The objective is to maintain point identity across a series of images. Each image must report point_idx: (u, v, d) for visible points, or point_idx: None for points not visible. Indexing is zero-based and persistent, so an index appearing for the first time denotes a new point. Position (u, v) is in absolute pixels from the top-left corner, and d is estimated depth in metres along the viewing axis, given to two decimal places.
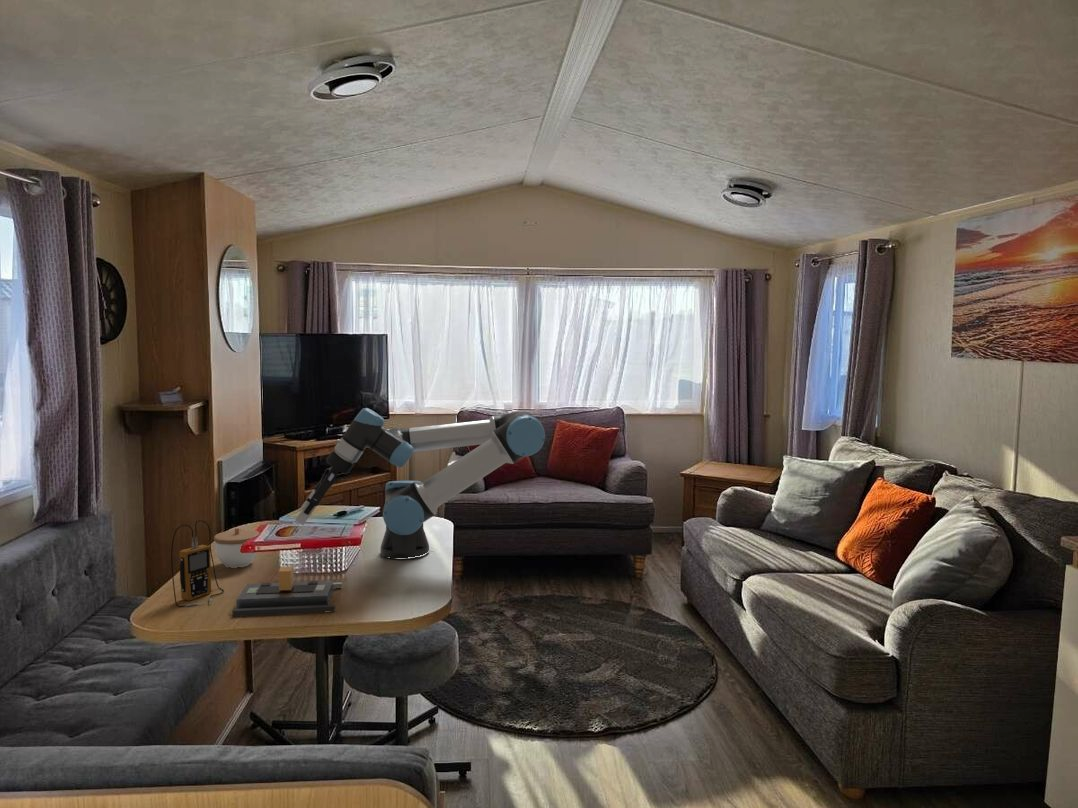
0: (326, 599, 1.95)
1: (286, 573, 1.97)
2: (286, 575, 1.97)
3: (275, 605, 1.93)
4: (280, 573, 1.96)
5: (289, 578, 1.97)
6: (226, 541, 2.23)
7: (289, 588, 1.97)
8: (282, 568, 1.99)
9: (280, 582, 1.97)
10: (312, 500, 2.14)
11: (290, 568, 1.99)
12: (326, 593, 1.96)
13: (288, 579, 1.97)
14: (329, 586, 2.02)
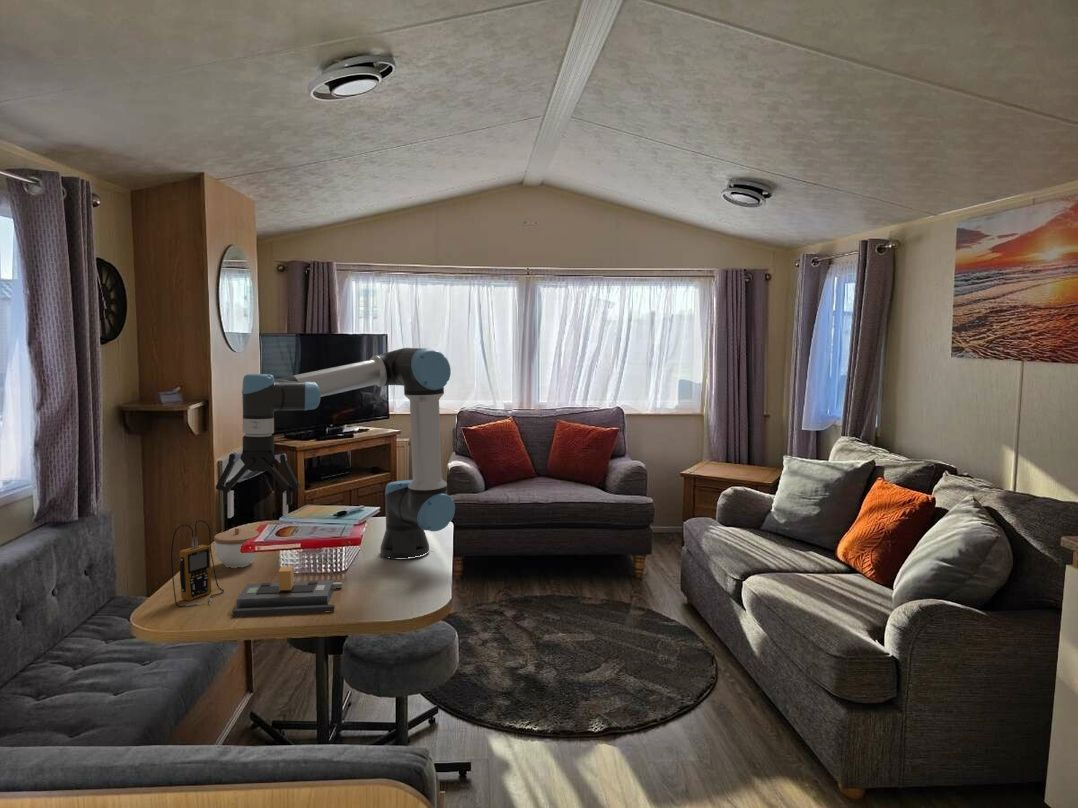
0: (326, 599, 1.95)
1: (286, 573, 1.97)
2: (286, 575, 1.97)
3: (275, 605, 1.93)
4: (280, 573, 1.96)
5: (289, 578, 1.97)
6: (226, 541, 2.23)
7: (289, 588, 1.97)
8: (282, 568, 1.99)
9: (280, 582, 1.97)
10: (298, 486, 1.97)
11: (290, 568, 1.99)
12: (326, 593, 1.96)
13: (288, 579, 1.97)
14: (329, 586, 2.02)
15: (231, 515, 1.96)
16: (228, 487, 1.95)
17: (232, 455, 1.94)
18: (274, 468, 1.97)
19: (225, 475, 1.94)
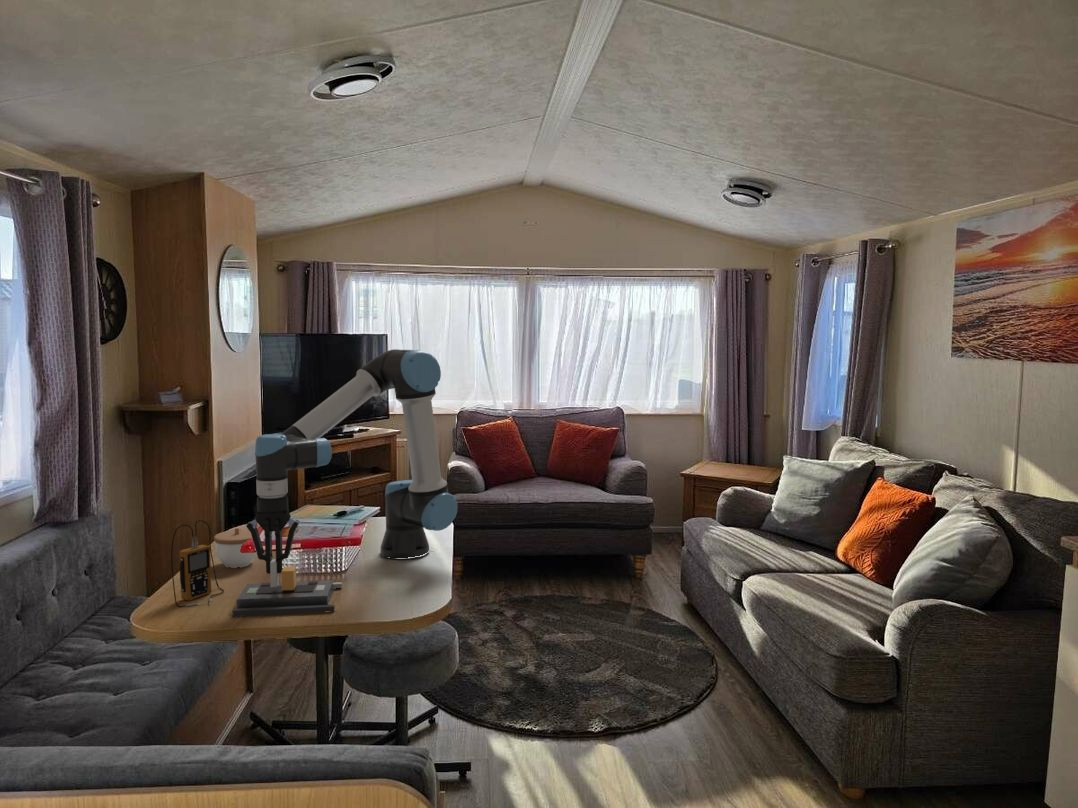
0: (326, 599, 1.95)
1: (289, 573, 1.97)
2: (289, 575, 1.97)
3: (275, 605, 1.93)
4: (283, 573, 1.96)
5: (292, 578, 1.97)
6: (226, 541, 2.23)
7: (292, 588, 1.97)
8: (285, 568, 1.99)
9: (283, 582, 1.97)
10: None
11: (293, 568, 1.99)
12: (326, 593, 1.96)
13: (290, 579, 1.97)
14: (329, 586, 2.02)
15: None
16: (268, 555, 1.96)
17: (248, 524, 1.95)
18: (281, 532, 1.98)
19: (257, 544, 1.96)
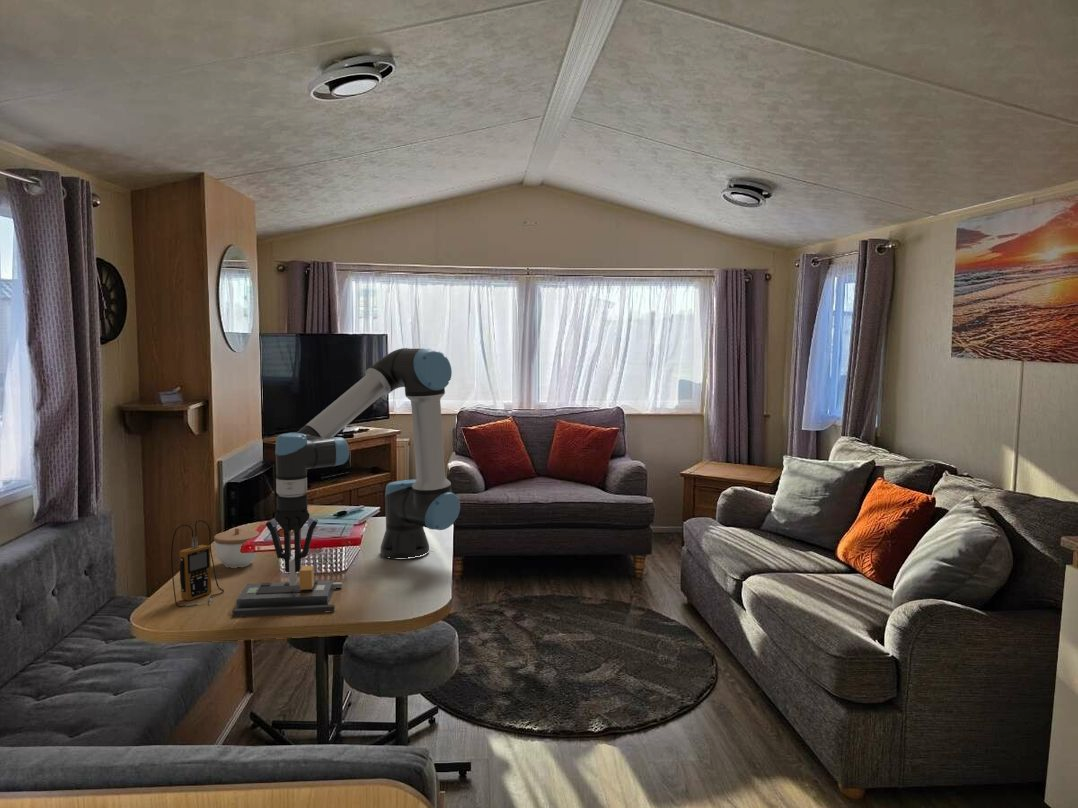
0: (326, 599, 1.95)
1: (307, 573, 1.97)
2: (307, 574, 1.97)
3: (275, 605, 1.93)
4: (301, 572, 1.97)
5: (310, 577, 1.97)
6: (226, 541, 2.23)
7: (310, 587, 1.98)
8: (303, 567, 1.99)
9: (301, 581, 1.97)
10: (306, 554, 1.98)
11: (311, 567, 1.99)
12: (326, 593, 1.96)
13: (308, 579, 1.97)
14: (329, 586, 2.02)
15: None
16: (287, 554, 1.97)
17: (268, 523, 1.96)
18: (300, 531, 1.98)
19: (276, 542, 1.96)
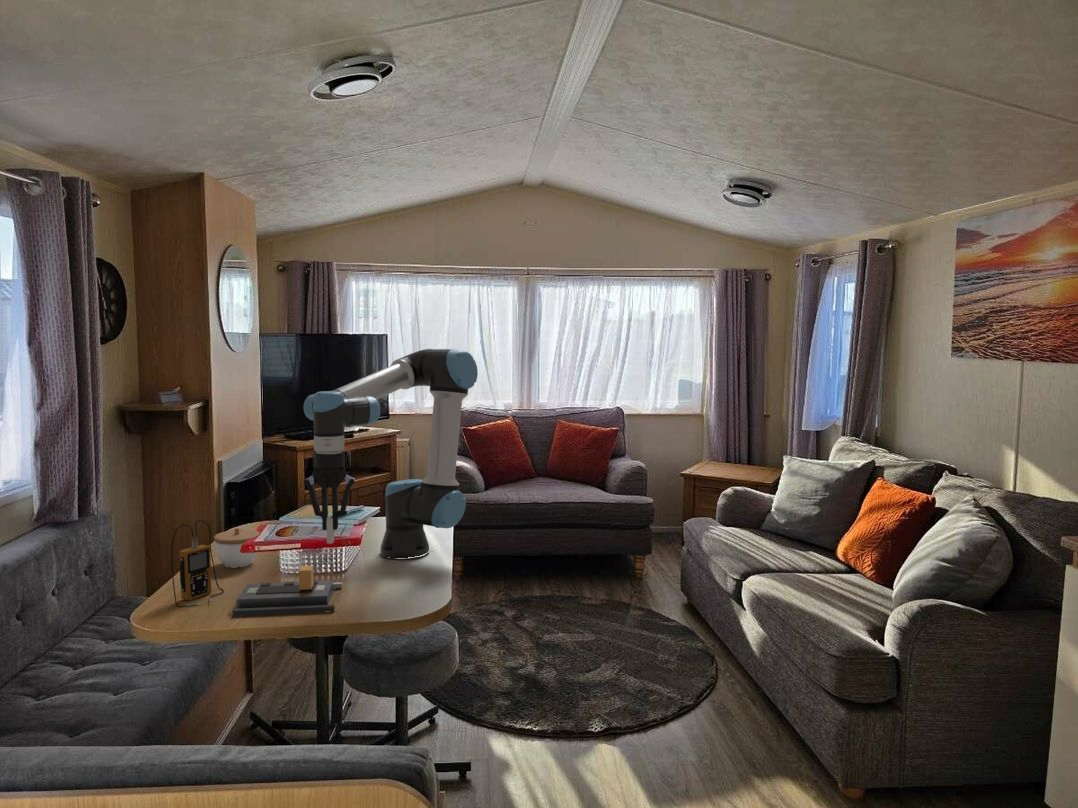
0: (326, 599, 1.95)
1: (306, 573, 1.97)
2: (307, 574, 1.97)
3: (275, 605, 1.93)
4: (300, 572, 1.97)
5: (309, 577, 1.97)
6: (226, 541, 2.23)
7: (309, 587, 1.98)
8: (302, 567, 1.99)
9: (300, 581, 1.97)
10: None
11: (310, 567, 1.99)
12: (326, 593, 1.96)
13: (308, 579, 1.97)
14: (329, 586, 2.02)
15: None
16: (324, 512, 1.97)
17: (305, 480, 1.96)
18: (337, 489, 1.98)
19: (314, 500, 1.96)
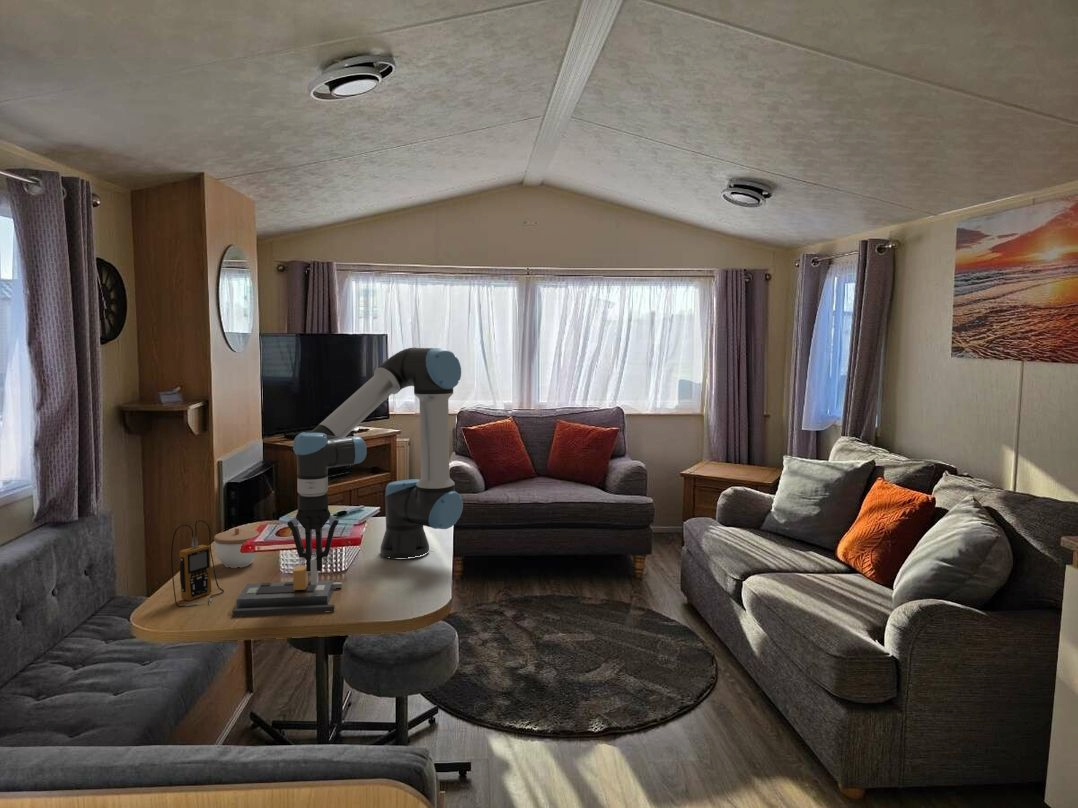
0: (326, 599, 1.95)
1: (301, 573, 1.97)
2: (301, 575, 1.97)
3: (275, 605, 1.93)
4: (295, 572, 1.97)
5: (304, 577, 1.97)
6: (226, 541, 2.23)
7: (304, 587, 1.97)
8: (297, 567, 1.99)
9: (295, 581, 1.97)
10: None
11: (304, 567, 1.99)
12: (326, 593, 1.96)
13: (302, 579, 1.97)
14: (329, 586, 2.02)
15: None
16: (308, 553, 1.98)
17: (289, 523, 1.96)
18: (321, 530, 1.99)
19: (298, 542, 1.97)
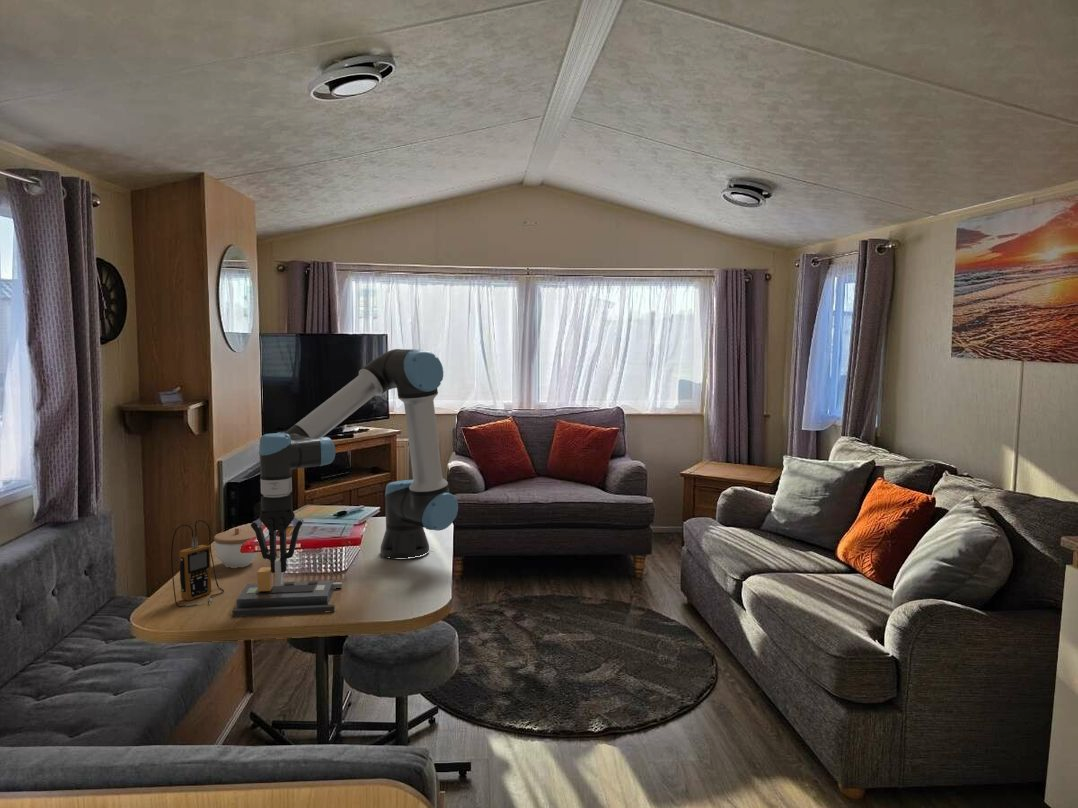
0: (326, 599, 1.95)
1: (265, 574, 1.96)
2: (265, 576, 1.96)
3: (275, 605, 1.93)
4: (259, 574, 1.96)
5: (268, 579, 1.96)
6: (226, 541, 2.23)
7: (268, 589, 1.96)
8: (261, 569, 1.98)
9: (259, 583, 1.96)
10: None
11: (269, 569, 1.98)
12: (326, 593, 1.96)
13: (267, 580, 1.96)
14: (329, 586, 2.02)
15: None
16: (272, 555, 1.96)
17: (252, 524, 1.95)
18: (285, 531, 1.98)
19: (262, 543, 1.96)
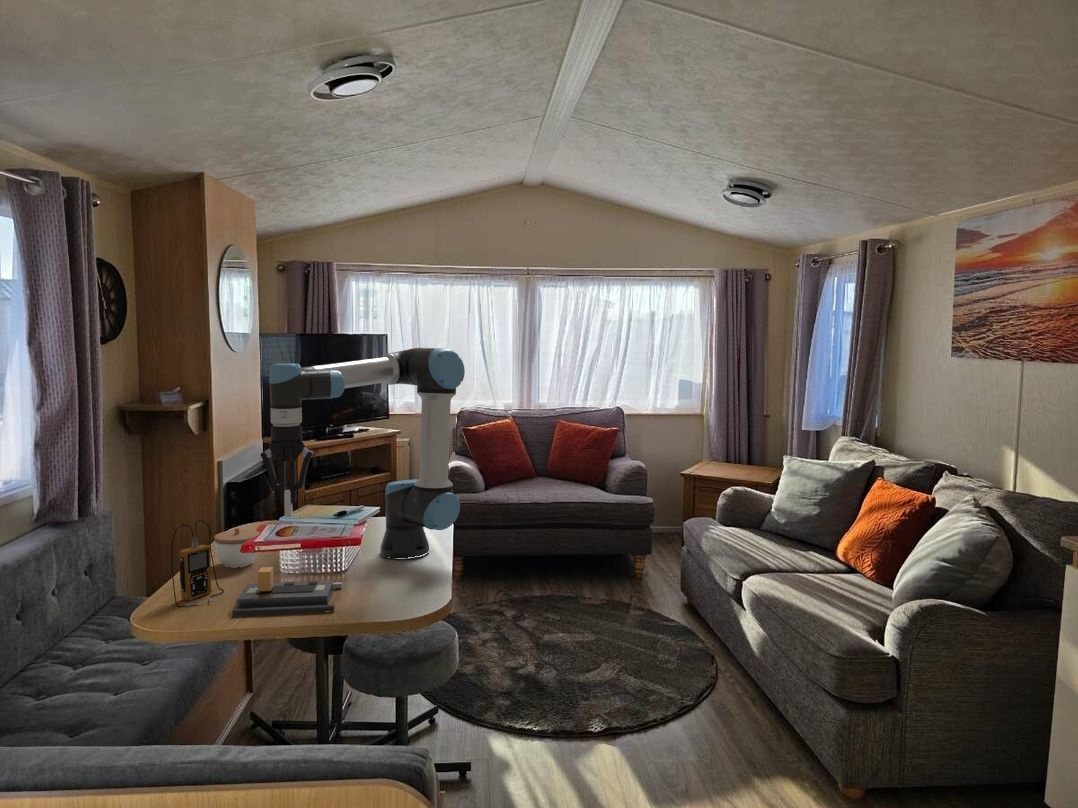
0: (326, 599, 1.95)
1: (265, 574, 1.96)
2: (266, 576, 1.96)
3: (275, 605, 1.93)
4: (259, 574, 1.96)
5: (269, 579, 1.96)
6: (226, 541, 2.23)
7: (269, 589, 1.96)
8: (262, 569, 1.98)
9: (259, 583, 1.96)
10: None
11: (270, 569, 1.98)
12: (326, 593, 1.96)
13: (267, 580, 1.96)
14: (329, 586, 2.02)
15: None
16: (282, 485, 1.95)
17: (262, 453, 1.94)
18: (295, 462, 1.96)
19: (271, 473, 1.94)
